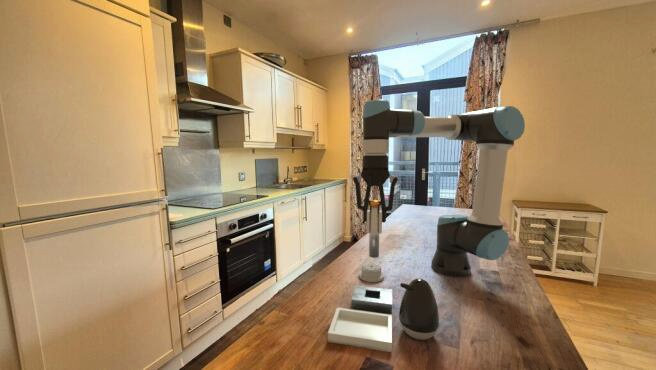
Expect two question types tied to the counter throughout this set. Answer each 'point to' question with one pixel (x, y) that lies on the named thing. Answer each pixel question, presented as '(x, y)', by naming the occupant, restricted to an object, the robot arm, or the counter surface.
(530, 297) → the counter surface
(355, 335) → the tray
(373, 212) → the pin
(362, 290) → the block
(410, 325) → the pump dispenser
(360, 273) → the mechanical component
